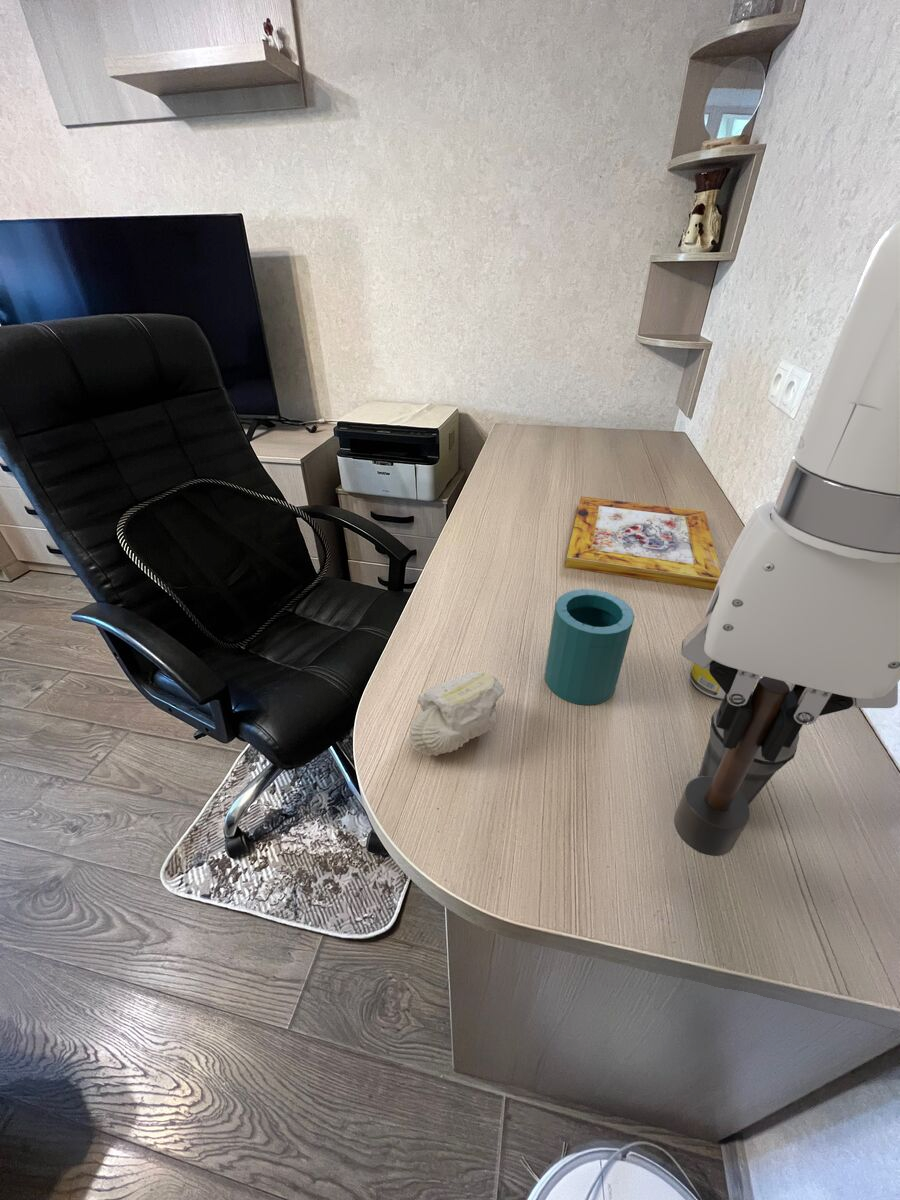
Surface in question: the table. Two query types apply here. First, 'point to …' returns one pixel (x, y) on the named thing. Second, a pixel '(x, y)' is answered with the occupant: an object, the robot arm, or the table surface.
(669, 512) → the picture frame
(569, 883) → the table surface
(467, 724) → the fossil replica
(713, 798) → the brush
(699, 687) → the pill bottle
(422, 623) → the table surface
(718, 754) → the beverage cup
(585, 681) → the jar
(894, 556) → the robot arm
